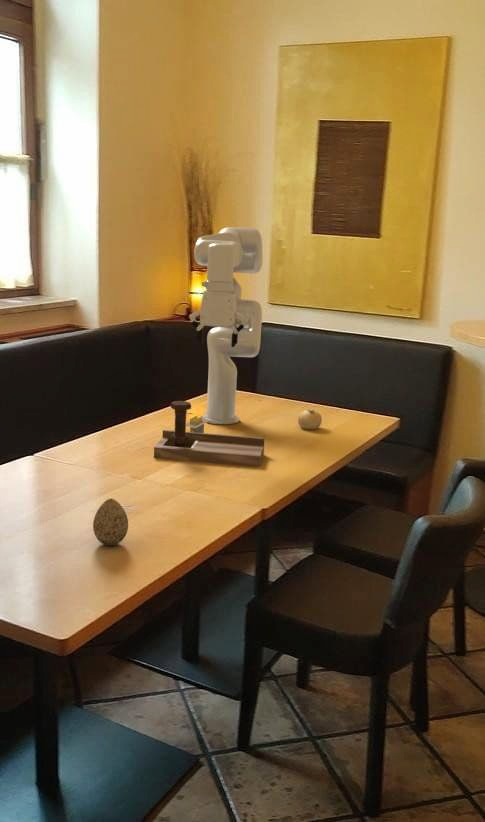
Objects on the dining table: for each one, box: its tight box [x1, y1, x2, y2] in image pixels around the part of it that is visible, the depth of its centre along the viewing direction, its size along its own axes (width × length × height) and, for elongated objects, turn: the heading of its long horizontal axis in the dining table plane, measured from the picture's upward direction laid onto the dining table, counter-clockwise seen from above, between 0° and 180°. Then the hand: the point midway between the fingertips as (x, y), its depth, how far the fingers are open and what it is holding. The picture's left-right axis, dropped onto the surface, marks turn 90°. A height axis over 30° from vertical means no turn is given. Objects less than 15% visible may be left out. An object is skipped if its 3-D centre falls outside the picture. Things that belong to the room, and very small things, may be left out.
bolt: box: [170, 400, 192, 448], centre depth 232 cm, size 6×5×15 cm
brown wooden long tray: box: [153, 429, 265, 468], centre depth 232 cm, size 12×30×5 cm, turn 83°
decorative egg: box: [92, 498, 129, 547], centre depth 167 cm, size 7×7×10 cm
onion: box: [297, 408, 323, 430], centre depth 269 cm, size 8×8×7 cm
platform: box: [186, 415, 208, 433], centre depth 252 cm, size 12×18×7 cm, turn 159°
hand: (217, 345), depth 239 cm, fingers open, 9 cm apart
